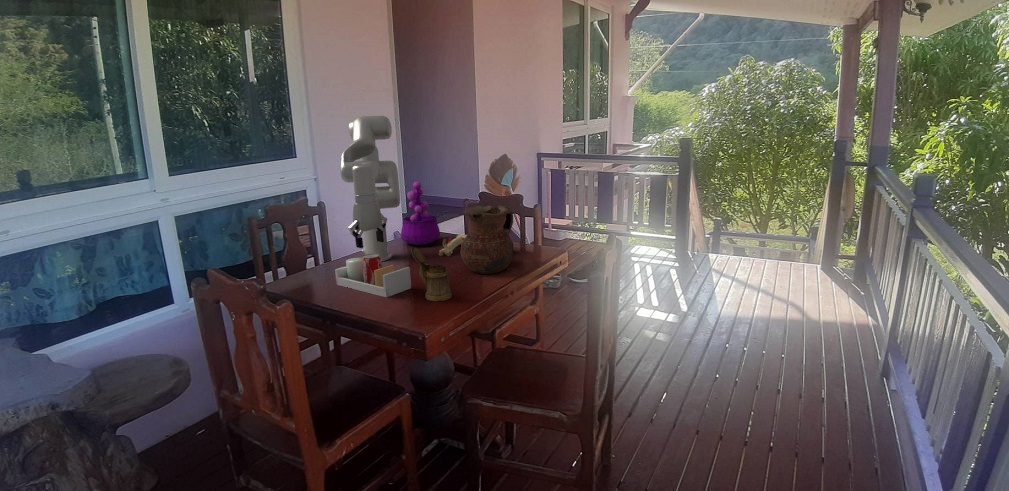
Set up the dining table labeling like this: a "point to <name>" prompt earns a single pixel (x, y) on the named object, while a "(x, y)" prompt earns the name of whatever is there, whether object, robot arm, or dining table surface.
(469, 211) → the jug
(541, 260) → the dining table surface
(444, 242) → the cream bone
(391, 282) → the pusher lane
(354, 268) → the sage jar
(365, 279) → the soda can
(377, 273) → the plate
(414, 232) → the decorative plant
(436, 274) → the wooden mug
